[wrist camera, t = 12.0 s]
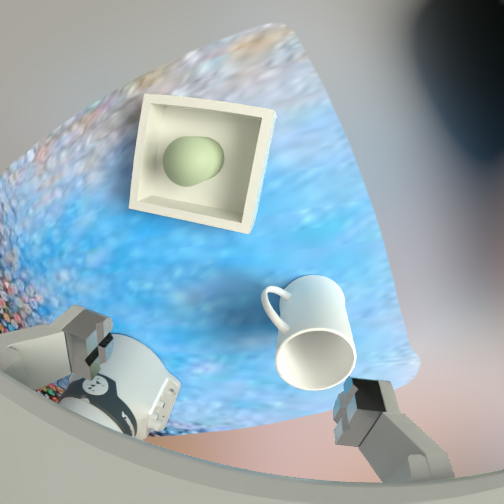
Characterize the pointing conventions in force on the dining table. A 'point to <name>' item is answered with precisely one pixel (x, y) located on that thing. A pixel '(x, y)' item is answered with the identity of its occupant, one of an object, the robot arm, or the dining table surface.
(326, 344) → the mug
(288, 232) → the dining table surface
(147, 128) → the bin
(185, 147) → the pale green rounded piece
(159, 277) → the dining table surface
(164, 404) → the robot arm
